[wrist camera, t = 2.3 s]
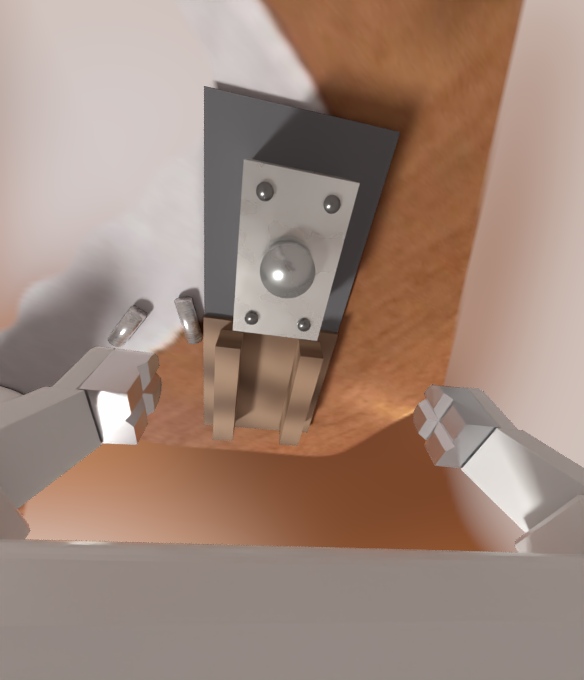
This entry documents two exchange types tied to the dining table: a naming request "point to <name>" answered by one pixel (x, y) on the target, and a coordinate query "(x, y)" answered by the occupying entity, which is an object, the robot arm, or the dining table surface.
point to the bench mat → (293, 151)
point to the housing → (288, 247)
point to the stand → (261, 380)
